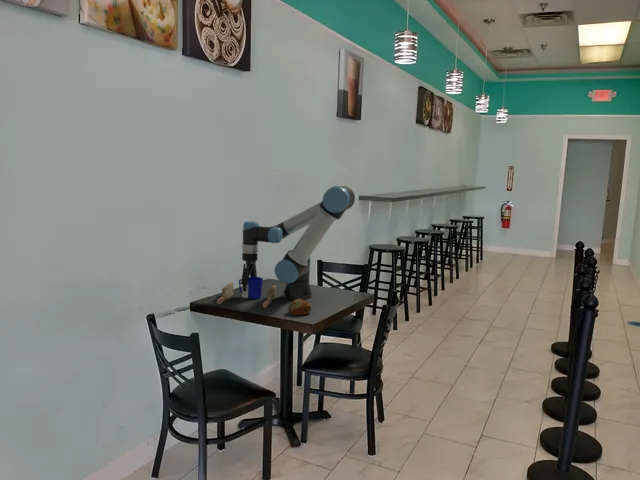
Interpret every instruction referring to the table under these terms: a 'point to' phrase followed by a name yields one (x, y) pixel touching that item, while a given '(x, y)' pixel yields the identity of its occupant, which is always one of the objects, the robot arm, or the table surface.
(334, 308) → the table surface
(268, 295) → the tunnel walls
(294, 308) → the bread roll
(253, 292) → the mug
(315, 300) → the table surface
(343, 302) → the table surface
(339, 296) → the table surface
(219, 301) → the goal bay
